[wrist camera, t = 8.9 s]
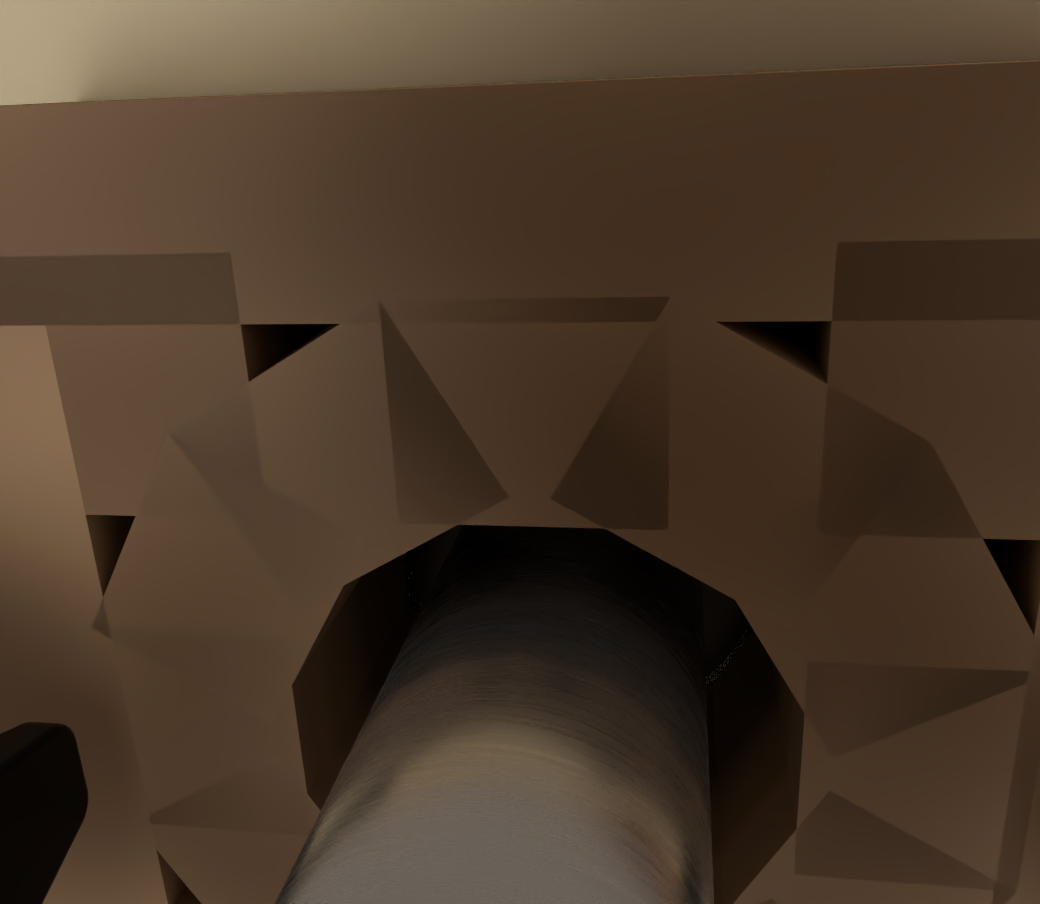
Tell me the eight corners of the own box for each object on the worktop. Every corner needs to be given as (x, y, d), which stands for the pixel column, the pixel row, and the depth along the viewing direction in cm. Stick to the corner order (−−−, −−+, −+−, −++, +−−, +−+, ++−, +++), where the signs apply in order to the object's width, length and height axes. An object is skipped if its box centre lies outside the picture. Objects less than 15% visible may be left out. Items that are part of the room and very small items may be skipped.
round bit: (698, 677, 13) (723, 1665, 5) (465, 665, 14) (139, 1546, 6) (705, 453, 12) (749, 1245, 4) (451, 448, 13) (16, 1143, 4)
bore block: (1005, 952, 14) (1117, 1258, 11) (219, 883, 16) (82, 1122, 13) (1157, 54, 10) (1428, 45, 6) (74, 101, 12) (-197, 115, 8)
